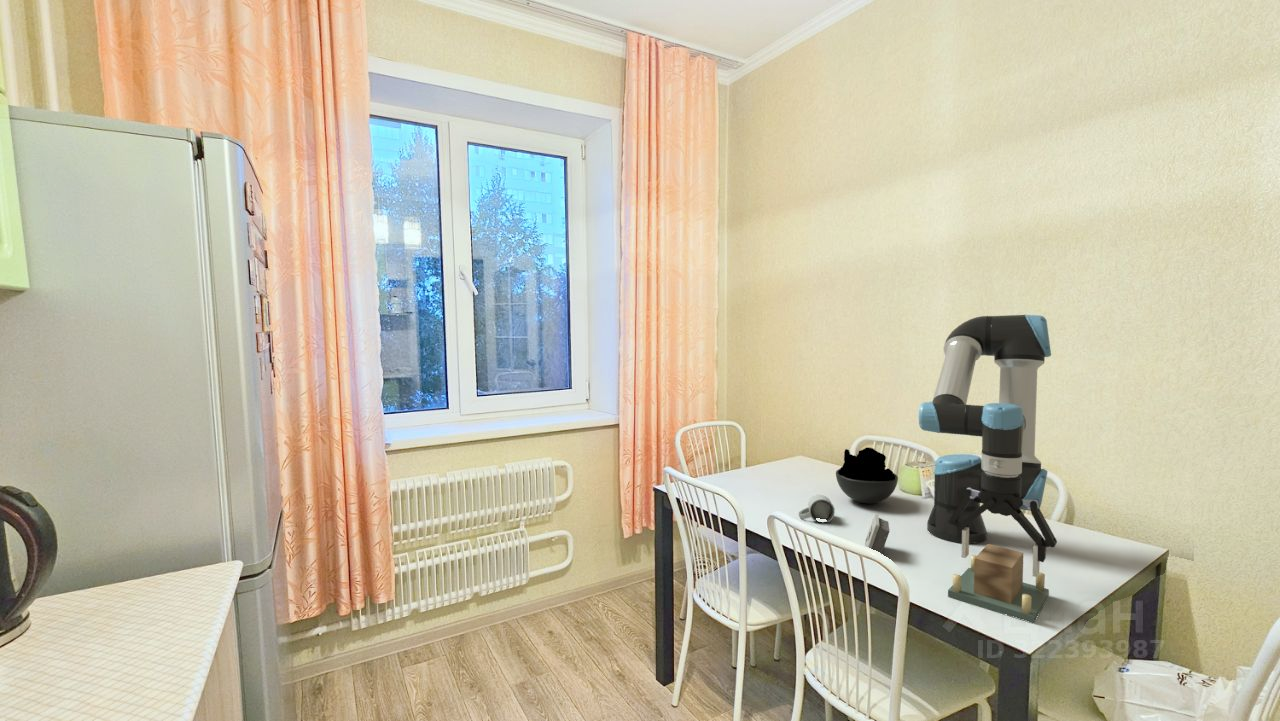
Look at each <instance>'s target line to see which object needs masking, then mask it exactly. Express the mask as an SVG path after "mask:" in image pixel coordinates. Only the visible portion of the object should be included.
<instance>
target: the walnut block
mask: <svg viewBox="0 0 1280 721" xmlns="http://www.w3.org/2000/svg"><path fill="white" fill-rule="evenodd" d="M975 556H976V557H975V565H974V593H976V594H979V595H983V596H986V597H989V598H993V599H996V600H999V601H1003V602H1006V603H1009V604H1011V603H1012V602H1013V600H1014V599H1015V597H1016V596H1017V594H1018V593H1019V591H1020V590H1021V588H1022V587H1023V582H1024V581H1023V580H1024V579H1023V578H1024V552H1023V551H1019V550H1015V549H1011V548H1007V547H1002V546H999V545H994V544H990V543H987V544H986V545H985V546H984V548H983V549H982V550H981V551H980V552H979V553H978V554H977V555H975Z"/></svg>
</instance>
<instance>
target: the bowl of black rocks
mask: <svg viewBox="0 0 1280 721" xmlns="http://www.w3.org/2000/svg"><path fill="white" fill-rule="evenodd" d="M843 454H844V455H843V459H844V460H843V465H842V466H841V467H840V468H839V469H837V470H836V471H835V477H836V481H837V483H838V486H839V487H840V490H842V492H843V493H844V494H845V495H846V496H847V497H848V498H850V499H851V500H853V501H855V502H857V503H861V504H865V503H866V504H867V505H868V504H869V505H870V504H871V505H872V504H873V505H874V504H878V503H882V501H885V500H886V499H889V497H890V496H891V495H893V493H894V492H895V490H896V489H897V485H898V482H899V477H898V475H897V474H896V473H894V471H892V469H890V468H886V460H887V457H886V455H885V453H882V452H879V451H877V450H875V448H873V447H865V448H863V449H860V450H858V453H857V454H856V455H853V454H852V453H851V452H850V450H849V449H848V448H845V450H844V452H843Z"/></svg>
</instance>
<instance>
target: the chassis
mask: <svg viewBox="0 0 1280 721" xmlns="http://www.w3.org/2000/svg"><path fill="white" fill-rule="evenodd" d="M976 556H977V555H974V554H972V555H971V556H970V567H968V568H967V569H966V570H965V571H964V572H963V573H962V574H961V575H960V574H957V573H955V574H952V585H951V586H950V587H949V588H948V590H947V597H948V598H951V599H955V600H958V601H959V602H963V603H966V604H970V605H972V606H977V607H980V608H983V609H986V610H990V611H992V612H994V613H995V612H996V613H999V614H1002V615H1005V614H1007V615H1006V616H1008V615H1010V616H1009V617H1011V616H1014V617H1017V618H1020V619H1019V620H1021V619H1024V620H1027V621H1029V622H1028V623H1030V622H1032V623H1031V624H1033V623H1034V622H1035V623H1036V621H1037V619H1038V617H1039V615H1040V613H1041V612H1042V610H1041V609H1043V608H1044V606H1045V604H1046V602H1047V600H1048V598H1049V596H1050V589H1049V588H1045V583H1046V582H1045V578H1046V574H1045V573H1044V572H1041V571H1039V574H1038V576H1037V577H1035V585H1034V584H1030V583H1027V582H1024V581H1023V587H1022V588H1021V590H1020V591H1019V593H1018V594H1017V596H1016V597H1015V599H1014V600H1013V602H1012V603H1011V604H1009V603H1006V602H1003V601H999V600H996V599H993V598H989V597H986V596H983V595H979V594H976V593H974V565H975V557H976ZM1045 601H1046V602H1045ZM1044 603H1045V604H1044ZM1043 605H1044V606H1043ZM1042 607H1043V608H1042ZM1038 614H1039V615H1038ZM1037 616H1038V617H1037ZM1014 617H1013V618H1014ZM1017 618H1016V619H1017ZM1036 618H1037V619H1036ZM1024 620H1023V621H1024ZM1035 620H1036V621H1035ZM1027 621H1026V622H1027ZM1035 623H1034V624H1035Z"/></svg>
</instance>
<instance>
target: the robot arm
mask: <svg viewBox="0 0 1280 721" xmlns="http://www.w3.org/2000/svg"><path fill="white" fill-rule="evenodd" d="M943 353H944V359H943V363H942V367H941V369H940V370H941V371H940V373H939V377H938V380H937V384H936V388H935V391H934V395H933V398H932V401H923V402H922V403H920V405H919V410H918V424H919V428H920V429H921V430H923V431H925V432H933V433H937V434H949V435H962V436H973V437H981V446H982V447H981V457H980V456H979V455H976V454H967V453H958V454H957V453H956V454H946V455H942V456H939V457H938V458H937V459H936V460H935V462H934V472H933V474H934V482H933V483H934V486H933V487H934V488H933V490H934V495H933V496H934V498H933V500H934V501H933V507H932V509H931V512H930V514H929V517H928V519H927V522H926V529H927V531H929V532H930V535H932V534H933V535H932V536H934V535H935V537H937V538H939V539H942V540H945V541H949V542H953V541H954V543H961V558H963V559H966V558H967V557H968V556H969V555H970V550H969V548H970V544H978V543H979V544H980V543H984V542H985V541H987V539H988V538H987V536H988V535H987V534H988V533H987V527H986V525H985V522H984V519H983V516H982V514H984V512H986V511H988V512H990V513H991V514H994V515H997V514H998V515H1000V516H1004V517H1008V516H1011V517H1012V518H1013V520H1015V521H1016V522H1017V523H1018V524H1019V525H1020V527H1021V528H1023V530H1024V531H1025V533H1026V535H1028V537H1030V539H1031V540H1032V541H1033V542H1034V545H1033V546H1032V577H1034V578H1036V577H1037V576H1038V574H1039V572H1040V565H1041V564H1040V562H1041V563H1044V562H1045V560H1046V557H1047V548H1055V547H1056V546H1057V543H1058V540H1057V538H1056V537H1055V535H1054V533H1053V531H1052V529H1051V527H1050V525H1049V524H1048V521H1047V520H1046V517H1045V516H1044V514H1043V513H1042V512H1043V511H1041V506H1042V502H1043V499H1044V498H1043V497H1044V492H1045V487H1046V483H1047V478H1048V476H1047V475H1048V470H1047V469H1045V468H1042V462H1041V460H1040V459H1039V458H1037V456H1036V454H1035V452H1036V451H1035V450H1036V424H1037V421H1036V420H1037V396H1038V395H1037V393H1038V392H1037V389H1038V388H1037V386H1038V369H1039V368H1040V367H1042V366H1044V364H1045V359H1046V358H1049V357H1051V356H1052V351H1051V344H1050V335H1049V328H1048V322H1047V319H1046V318H1045V317H1044V316H1043V315H1037V314H1035V315H1034V314H1016V315H1015V314H1014V315H1013V314H1012V315H1008V314H1007V315H981V316H976V317H972V318H970V319H968V320H966V321H964V322H963V323H960V324H959V325H958V326H956V328H954V329H953V330H952V331H951V332H950V334H949V335H948V336H947V338H946V340H945V342H944V346H943ZM981 356H986V357H987V356H988V357H990V356H992V357H994V359H993V361H994V364H996V365H997V366H998V367H999V369H1000V371H999V391H998V392H999V395H998V402H991V403H987V404H985V405H980V404H979V405H976V404H967V402H968V397H969V392H970V389H971V384H972V380H973V376H974V375H973V374H974V370H975V365H976V361H977V360H979V359H980V357H981ZM1022 510H1023V511H1030V513H1031V515H1032V517H1033V520H1034V521H1035V524H1036V525H1037V526H1038V529H1039V530H1040V532H1041V533H1040V532H1039V531H1038V529H1036V527H1035V526H1034V525H1033V524H1032V523H1031V521H1030V520H1029V519H1028V518H1027V517H1026V515H1025V514H1024V512H1023V511H1022ZM929 532H928V533H929Z"/></svg>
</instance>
